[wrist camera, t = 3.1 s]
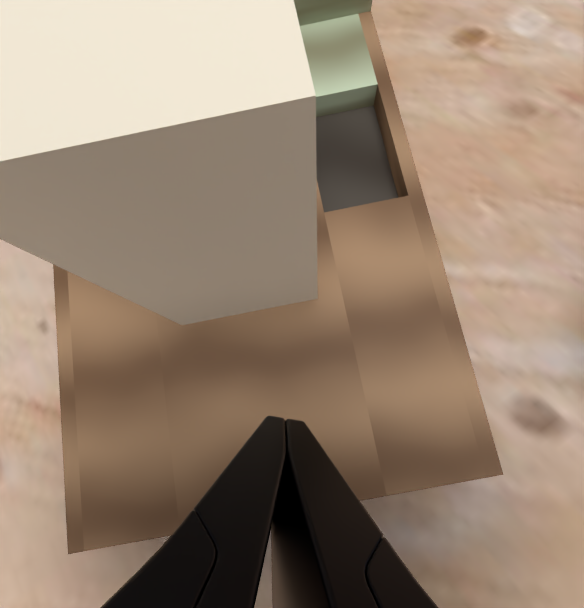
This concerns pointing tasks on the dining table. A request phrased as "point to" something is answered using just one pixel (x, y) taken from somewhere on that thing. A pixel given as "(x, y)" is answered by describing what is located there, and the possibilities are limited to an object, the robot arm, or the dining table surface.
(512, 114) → the dining table surface
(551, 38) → the dining table surface
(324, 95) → the tray
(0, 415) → the dining table surface
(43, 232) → the cream block
